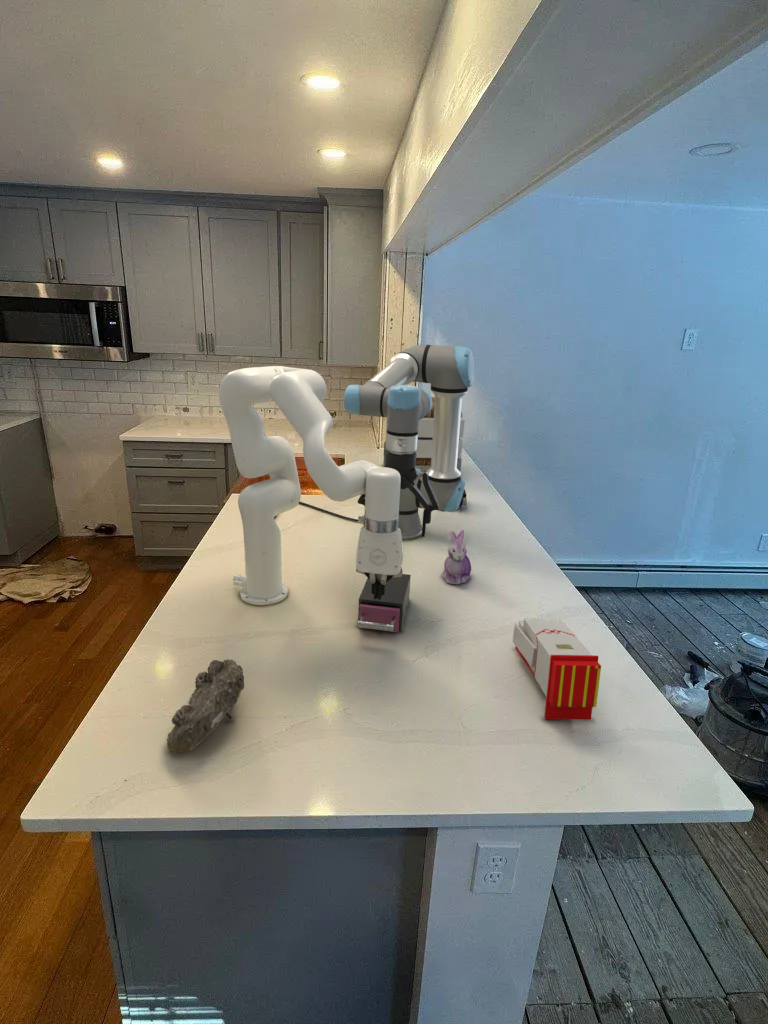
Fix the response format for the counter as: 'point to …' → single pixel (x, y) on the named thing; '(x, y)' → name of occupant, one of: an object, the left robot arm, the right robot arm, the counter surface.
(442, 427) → the right robot arm
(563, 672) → the toy
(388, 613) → the drawer
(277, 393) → the left robot arm
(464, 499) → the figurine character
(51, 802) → the counter surface
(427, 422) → the white slatted crate
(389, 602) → the cabinet
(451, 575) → the figurine
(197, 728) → the fossil
